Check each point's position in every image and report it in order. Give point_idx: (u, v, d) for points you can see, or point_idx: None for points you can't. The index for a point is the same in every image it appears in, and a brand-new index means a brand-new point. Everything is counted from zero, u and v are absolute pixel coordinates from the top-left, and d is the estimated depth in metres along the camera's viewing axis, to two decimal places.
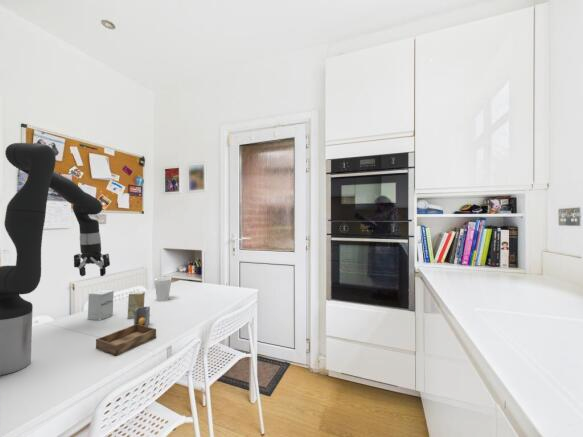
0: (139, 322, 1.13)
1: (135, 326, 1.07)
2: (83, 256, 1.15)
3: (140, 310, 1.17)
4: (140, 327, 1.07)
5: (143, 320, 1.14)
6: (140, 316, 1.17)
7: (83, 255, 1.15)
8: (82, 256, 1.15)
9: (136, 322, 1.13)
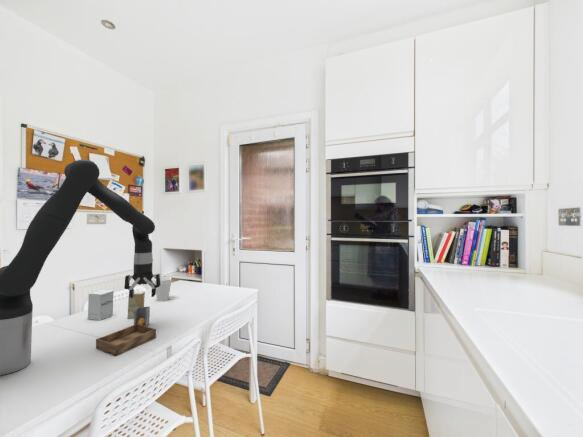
0: (139, 323, 1.13)
1: (135, 326, 1.07)
2: (135, 277, 1.14)
3: (140, 310, 1.17)
4: (140, 327, 1.07)
5: (143, 321, 1.14)
6: (140, 316, 1.17)
7: (135, 276, 1.14)
8: (134, 277, 1.13)
9: (136, 322, 1.13)
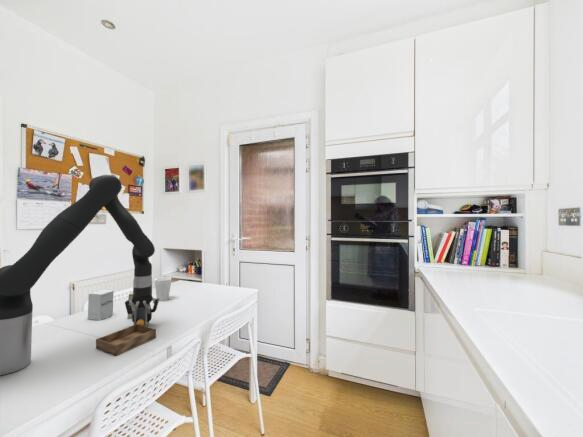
0: None
1: (135, 326, 1.07)
2: (134, 300, 1.13)
3: (140, 310, 1.17)
4: (140, 327, 1.07)
5: None
6: (140, 316, 1.16)
7: (134, 299, 1.13)
8: (133, 300, 1.13)
9: (136, 322, 1.13)
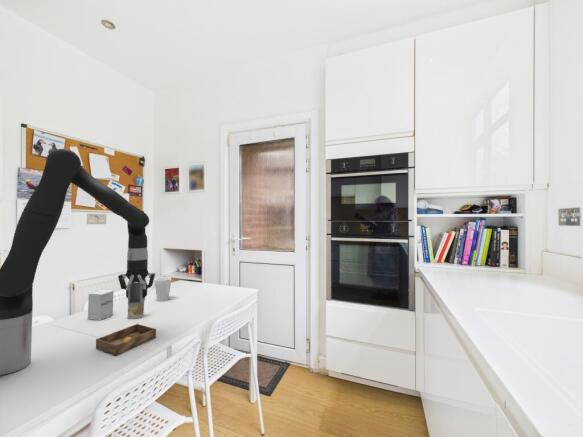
0: None
1: (135, 326, 1.07)
2: (128, 274, 1.05)
3: (135, 286, 1.08)
4: (140, 327, 1.07)
5: None
6: (135, 292, 1.08)
7: (128, 273, 1.05)
8: (127, 274, 1.05)
9: (130, 298, 1.05)
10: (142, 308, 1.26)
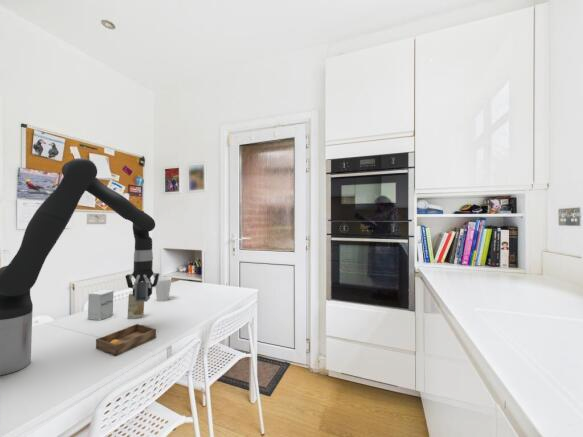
0: None
1: (135, 326, 1.07)
2: (135, 274, 1.13)
3: (141, 285, 1.17)
4: (140, 327, 1.07)
5: (115, 343, 0.92)
6: (141, 291, 1.17)
7: (135, 273, 1.13)
8: (134, 274, 1.13)
9: (137, 296, 1.14)
10: (142, 308, 1.26)
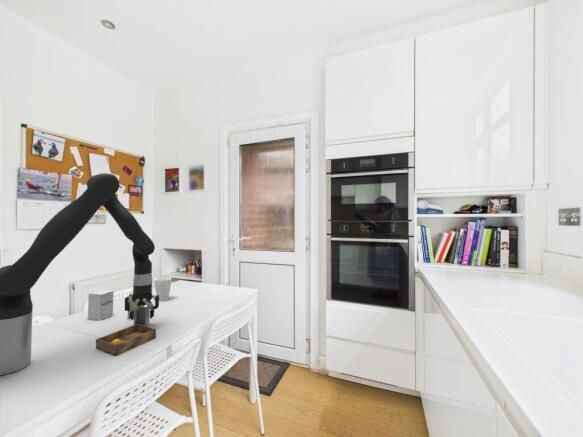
0: None
1: (135, 326, 1.07)
2: (134, 298, 1.13)
3: (140, 310, 1.16)
4: (140, 327, 1.07)
5: (117, 342, 0.93)
6: (140, 316, 1.16)
7: (134, 297, 1.13)
8: (133, 298, 1.13)
9: (136, 322, 1.13)
10: None
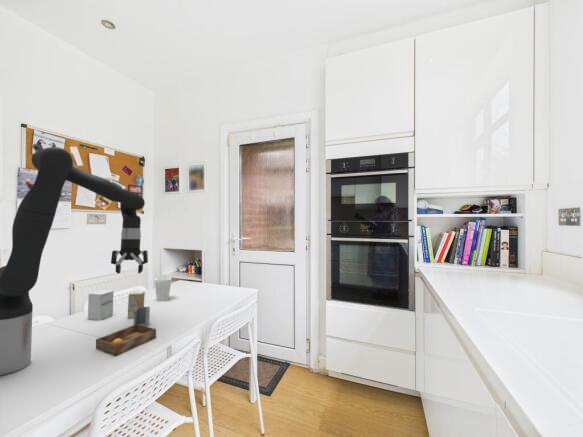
0: None
1: (135, 326, 1.07)
2: (122, 252, 1.13)
3: (140, 310, 1.16)
4: (140, 327, 1.07)
5: (119, 341, 0.94)
6: (140, 316, 1.16)
7: (122, 251, 1.13)
8: (121, 252, 1.13)
9: (136, 322, 1.13)
10: None
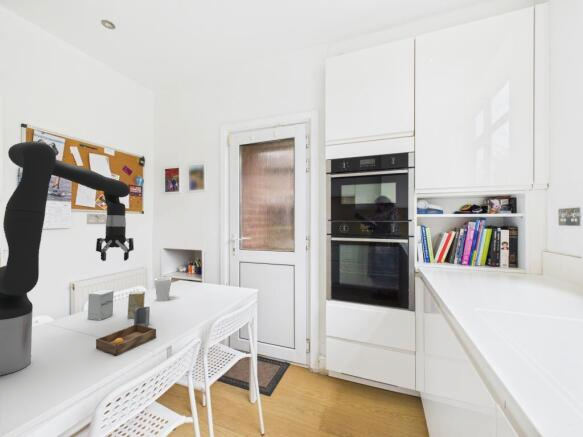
0: None
1: (135, 326, 1.07)
2: (107, 239, 1.13)
3: (140, 310, 1.16)
4: (140, 327, 1.07)
5: (121, 340, 0.95)
6: (140, 316, 1.16)
7: (107, 238, 1.13)
8: (106, 239, 1.13)
9: (136, 322, 1.13)
10: None
